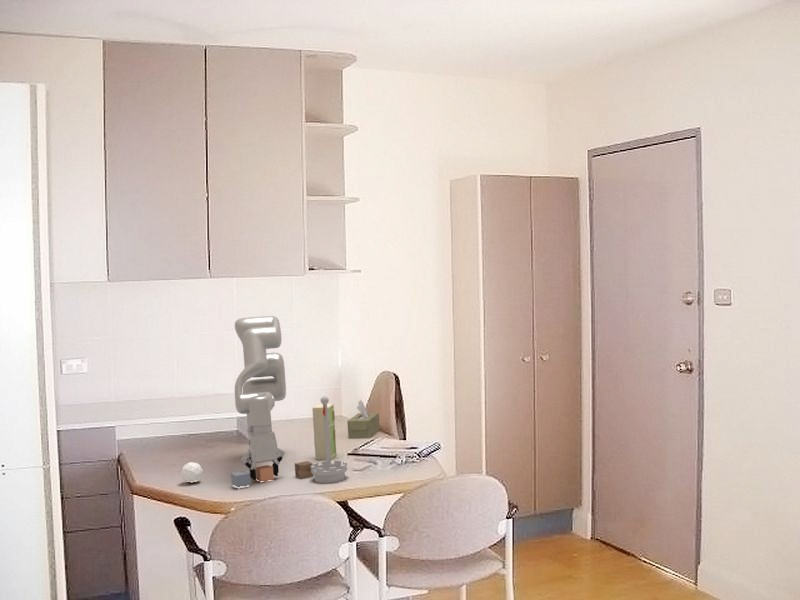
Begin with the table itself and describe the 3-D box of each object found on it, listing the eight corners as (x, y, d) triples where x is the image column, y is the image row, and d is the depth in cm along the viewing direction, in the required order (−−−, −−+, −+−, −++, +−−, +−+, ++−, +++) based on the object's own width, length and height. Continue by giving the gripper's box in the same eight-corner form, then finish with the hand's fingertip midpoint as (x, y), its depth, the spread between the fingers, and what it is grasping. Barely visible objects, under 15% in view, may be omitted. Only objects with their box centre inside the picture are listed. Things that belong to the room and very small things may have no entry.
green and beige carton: (333, 460, 355) (329, 407, 354) (315, 460, 357) (311, 407, 356) (338, 455, 363) (335, 403, 362) (321, 455, 364) (317, 404, 363)
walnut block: (295, 476, 332) (294, 463, 332) (308, 474, 334) (307, 460, 334) (300, 479, 328) (300, 465, 327) (313, 476, 330) (312, 463, 330)
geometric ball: (187, 491, 331) (174, 473, 332) (204, 478, 336) (191, 461, 337) (192, 484, 326) (179, 466, 327) (209, 472, 331) (196, 454, 332)
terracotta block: (255, 480, 330) (254, 467, 329) (268, 478, 332) (267, 464, 332) (260, 483, 325) (259, 469, 325) (273, 480, 328) (272, 467, 327)
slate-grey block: (232, 487, 322) (231, 473, 322) (245, 484, 325) (244, 470, 324) (237, 489, 318) (236, 475, 317) (250, 487, 320) (249, 473, 320)
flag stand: (315, 475, 332) (310, 394, 331) (350, 473, 331) (345, 392, 329) (308, 484, 319) (302, 400, 318) (344, 482, 318) (339, 398, 316)
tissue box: (359, 430, 413) (357, 396, 412) (380, 430, 411) (377, 395, 410) (348, 439, 395) (345, 403, 394) (369, 438, 393) (367, 402, 392)
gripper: (242, 434, 320) (245, 483, 321) (287, 427, 329) (290, 475, 330) (234, 431, 327) (238, 479, 328) (279, 424, 335) (282, 471, 336)
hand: (264, 477), depth 329 cm, fingers open, 7 cm apart
